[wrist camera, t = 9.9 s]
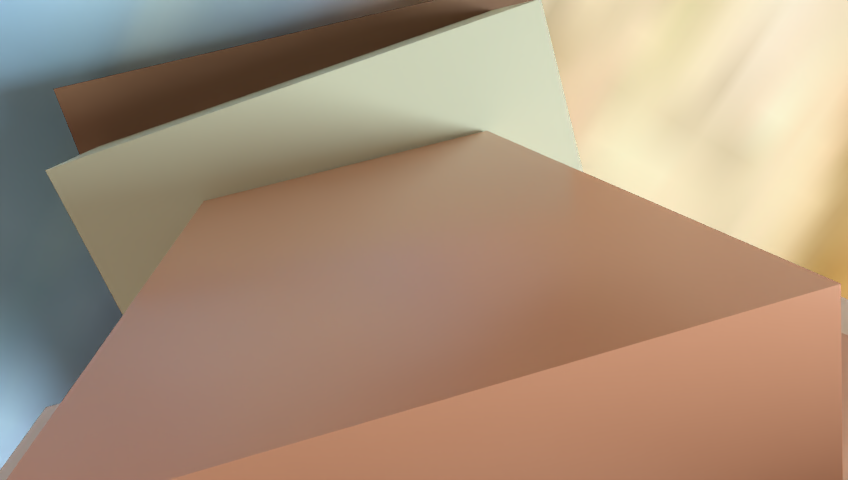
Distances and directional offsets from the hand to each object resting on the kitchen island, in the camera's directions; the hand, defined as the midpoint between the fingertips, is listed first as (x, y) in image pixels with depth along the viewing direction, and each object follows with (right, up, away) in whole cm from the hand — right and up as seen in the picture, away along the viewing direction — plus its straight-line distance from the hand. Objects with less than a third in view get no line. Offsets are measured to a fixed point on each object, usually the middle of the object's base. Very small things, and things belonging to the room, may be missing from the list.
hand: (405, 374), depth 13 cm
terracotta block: (-1, +1, +4) cm, 4 cm away
